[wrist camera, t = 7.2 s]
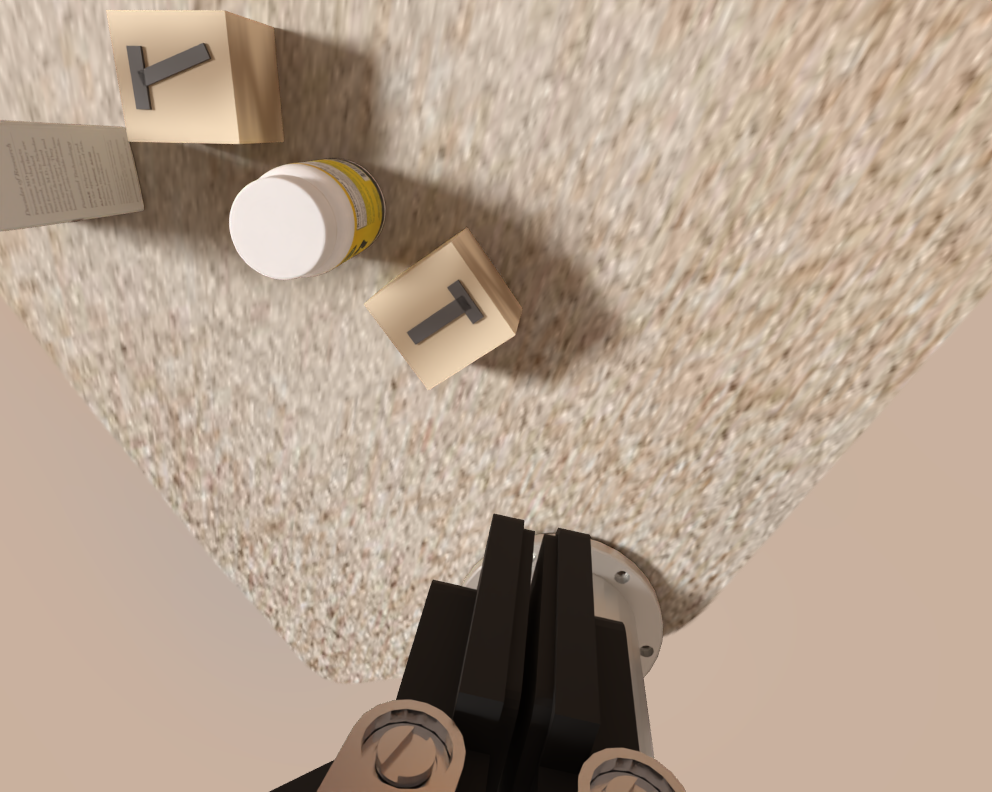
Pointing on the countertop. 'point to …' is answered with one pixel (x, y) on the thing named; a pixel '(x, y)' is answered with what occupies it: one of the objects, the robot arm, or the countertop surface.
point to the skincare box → (64, 174)
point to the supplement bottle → (306, 218)
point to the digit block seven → (196, 77)
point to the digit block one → (447, 309)
